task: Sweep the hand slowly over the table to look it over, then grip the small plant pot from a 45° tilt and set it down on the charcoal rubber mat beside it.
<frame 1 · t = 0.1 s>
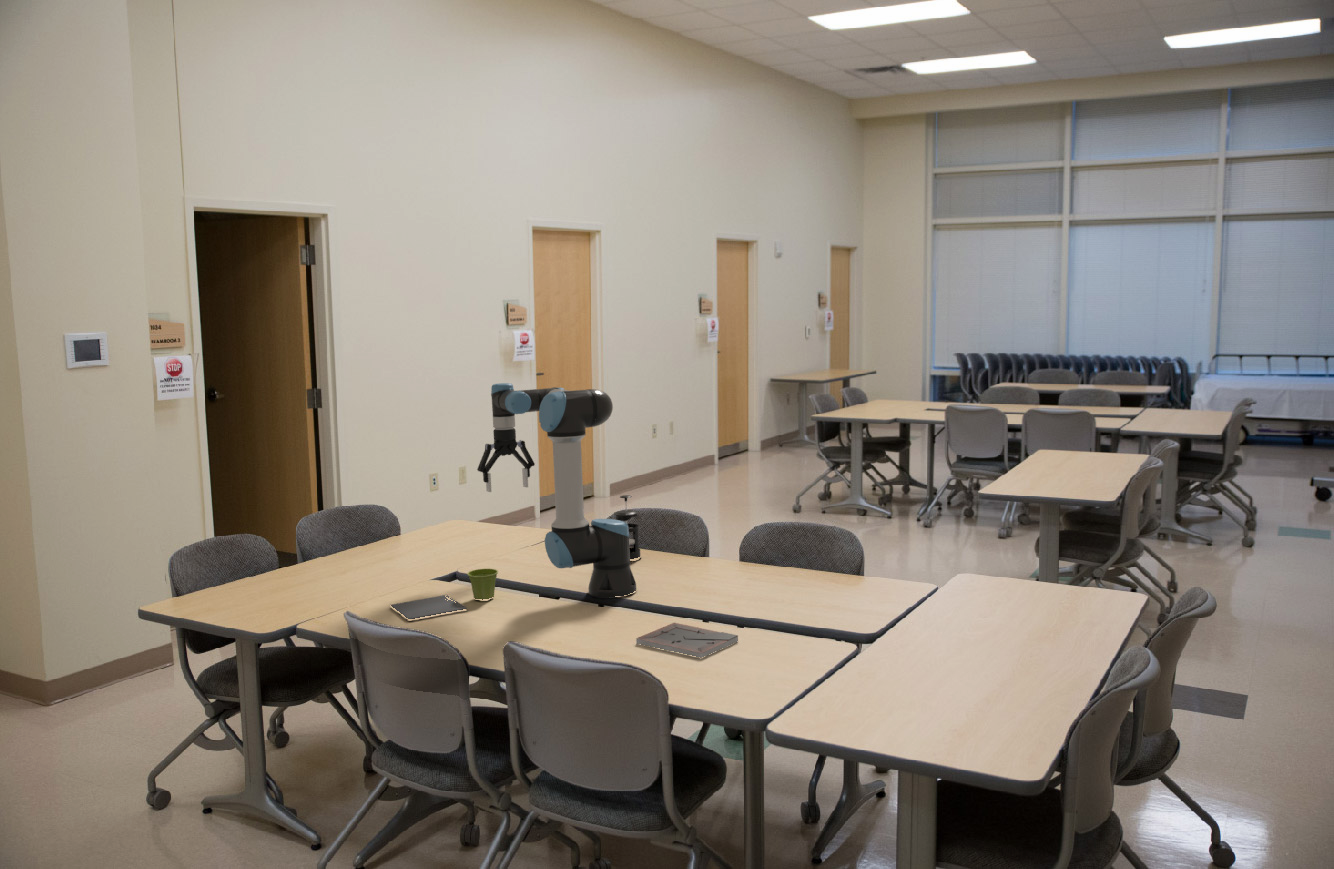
hand: (507, 489, 362), 28 cm above the table, tool pointing down, fingers open, 13 cm apart
plant pot: (484, 599, 328), on the table
french press: (627, 559, 374), on the table
picture frame: (687, 646, 280), on the table
charcoal mat: (428, 609, 318), on the table
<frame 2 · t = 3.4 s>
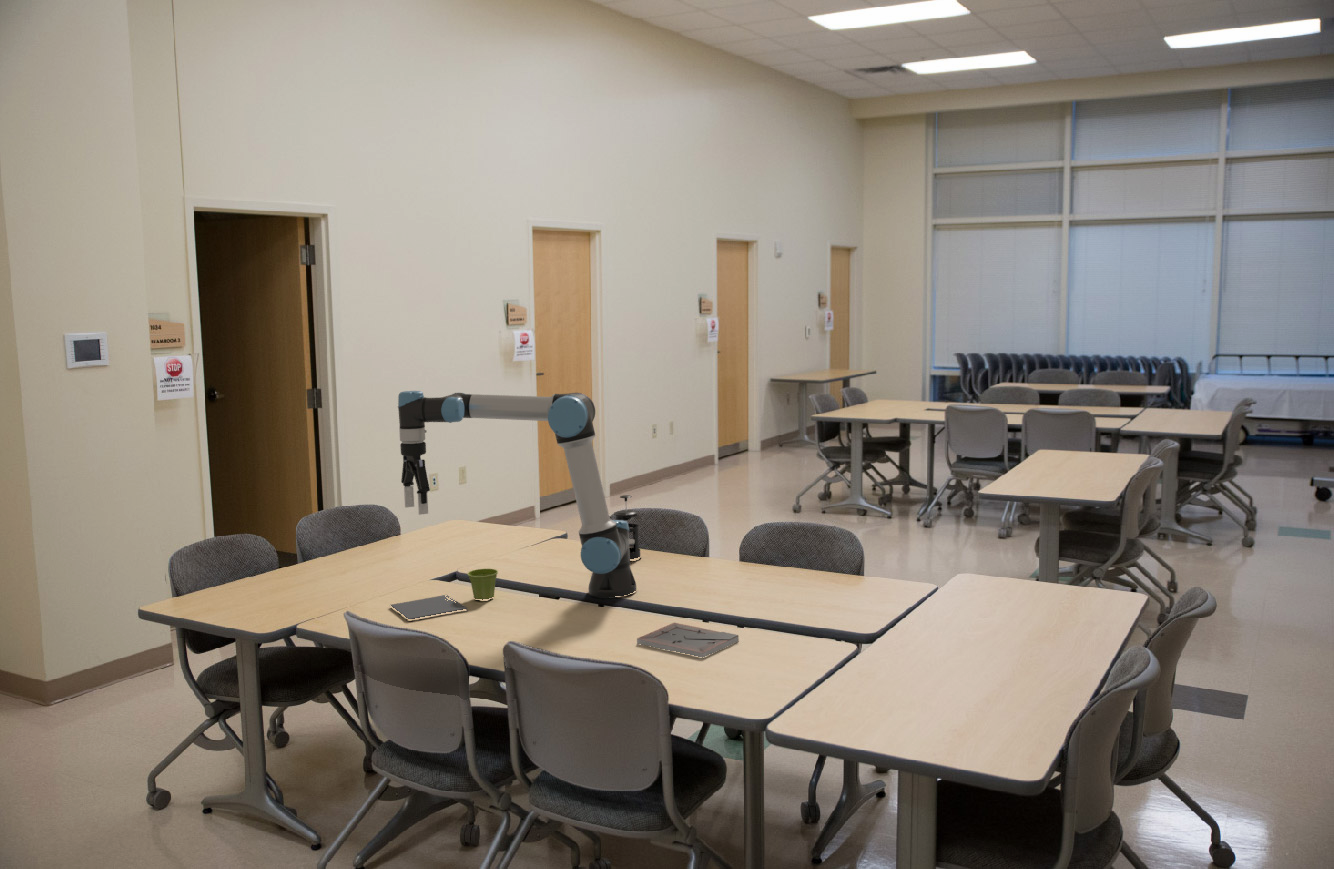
hand: (416, 510, 321), 29 cm above the table, tool pointing down, fingers open, 13 cm apart
nothing on the table moved.
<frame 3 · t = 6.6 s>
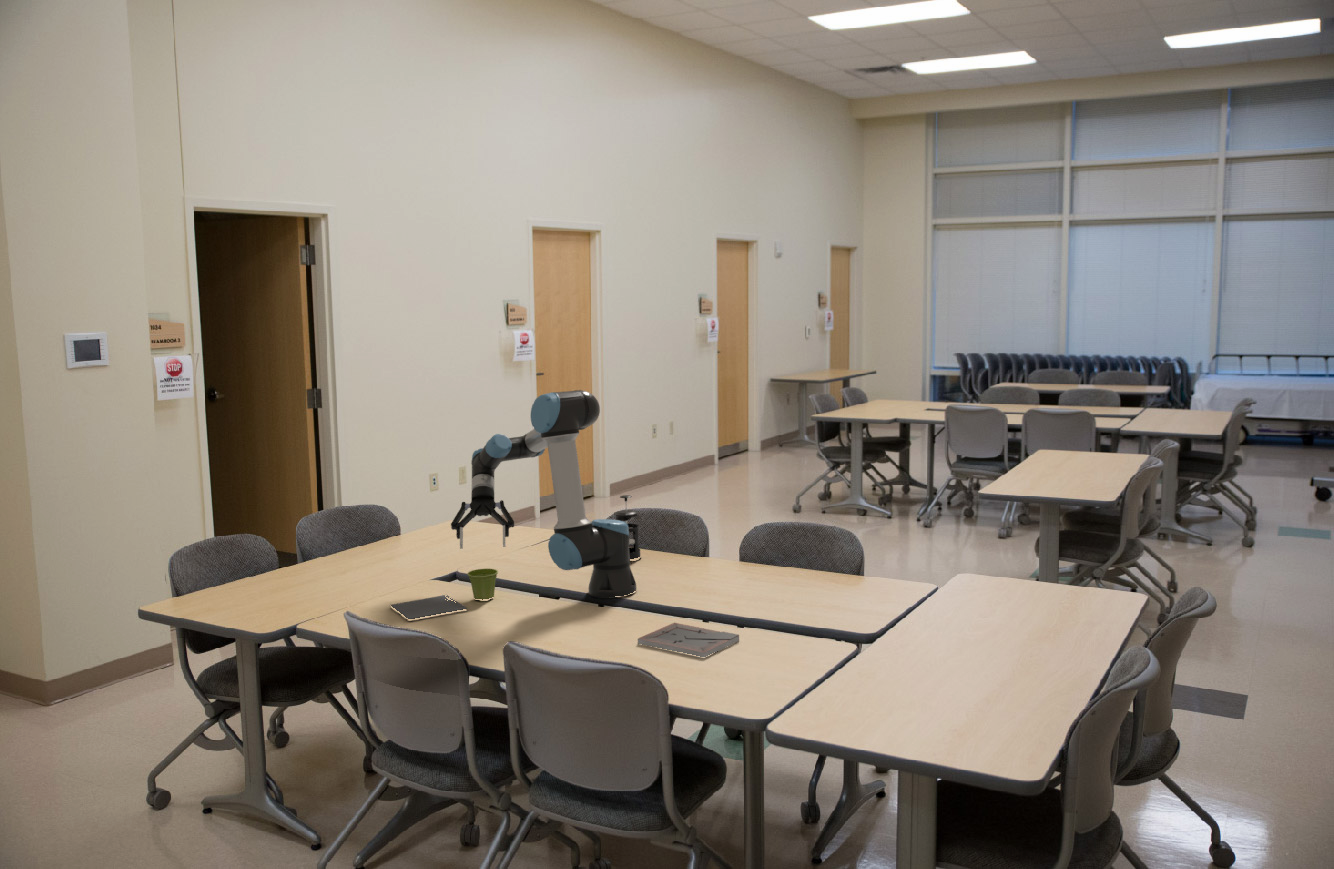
hand: (482, 545, 336), 15 cm above the table, tool tilted 45°, fingers open, 13 cm apart
nothing on the table moved.
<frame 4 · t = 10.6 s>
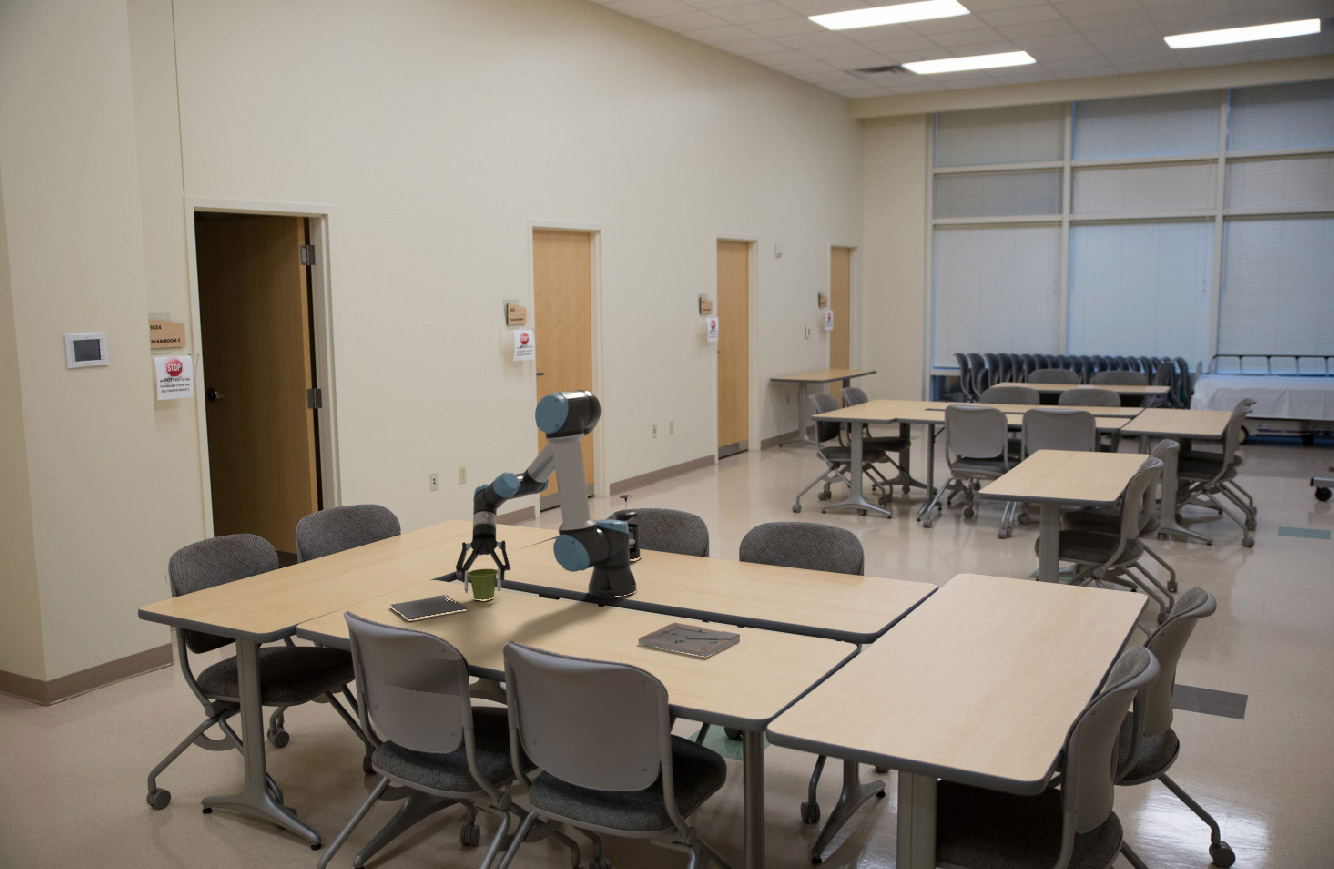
hand: (482, 589, 324), 4 cm above the table, tool tilted 45°, fingers closed on plant pot, 9 cm apart
plant pot: (484, 599, 328), on the table, touching gripper
everything else where it was.
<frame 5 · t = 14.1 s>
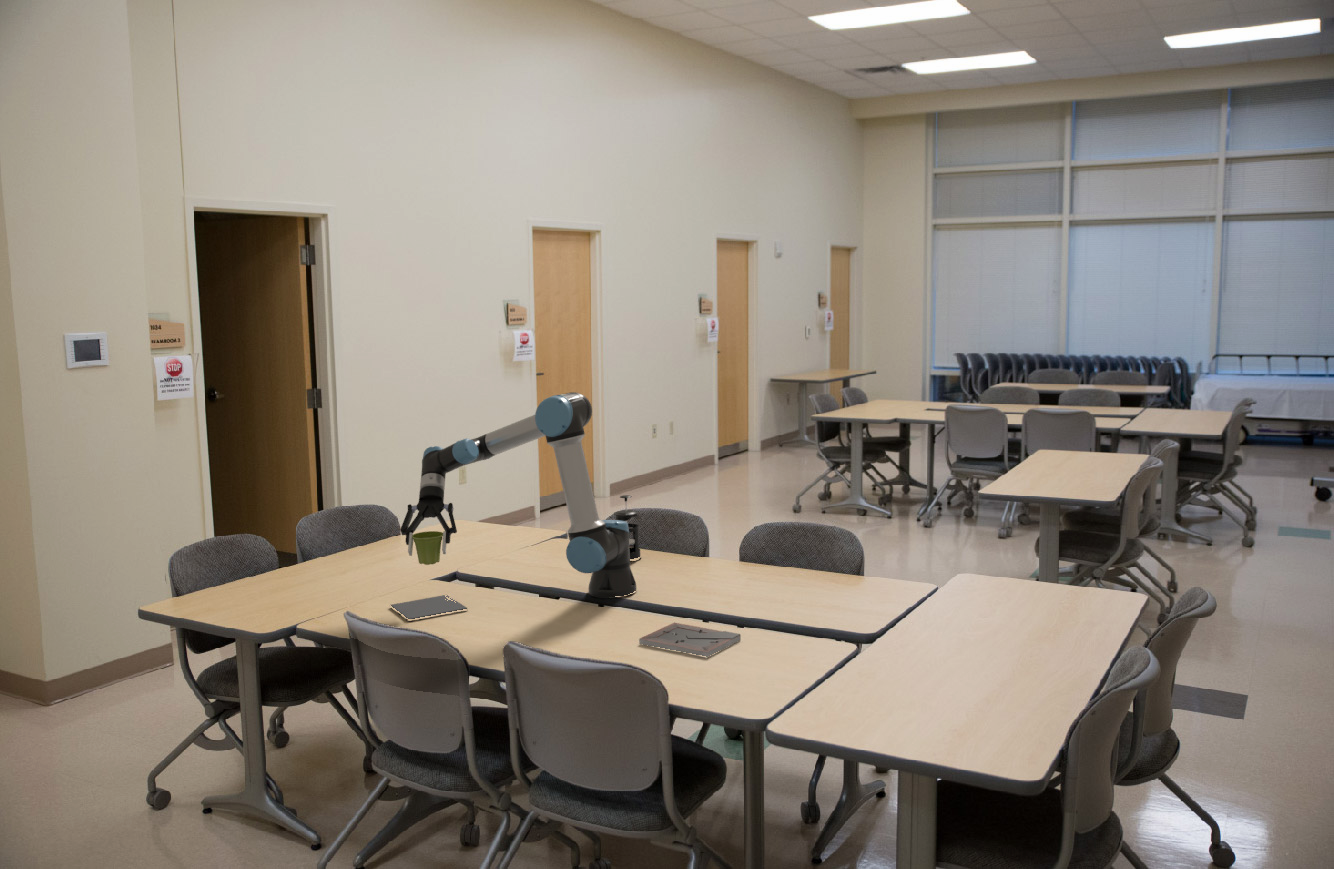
hand: (426, 552, 314), 18 cm above the table, tool tilted 45°, fingers closed on plant pot, 9 cm apart
plant pot: (429, 563, 318), point 14 cm above the table, touching gripper
everything else where it was.
when the fingers open (6 cm above the table, at t = 17.6 s): plant pot drops 1 cm, resting on charcoal mat.
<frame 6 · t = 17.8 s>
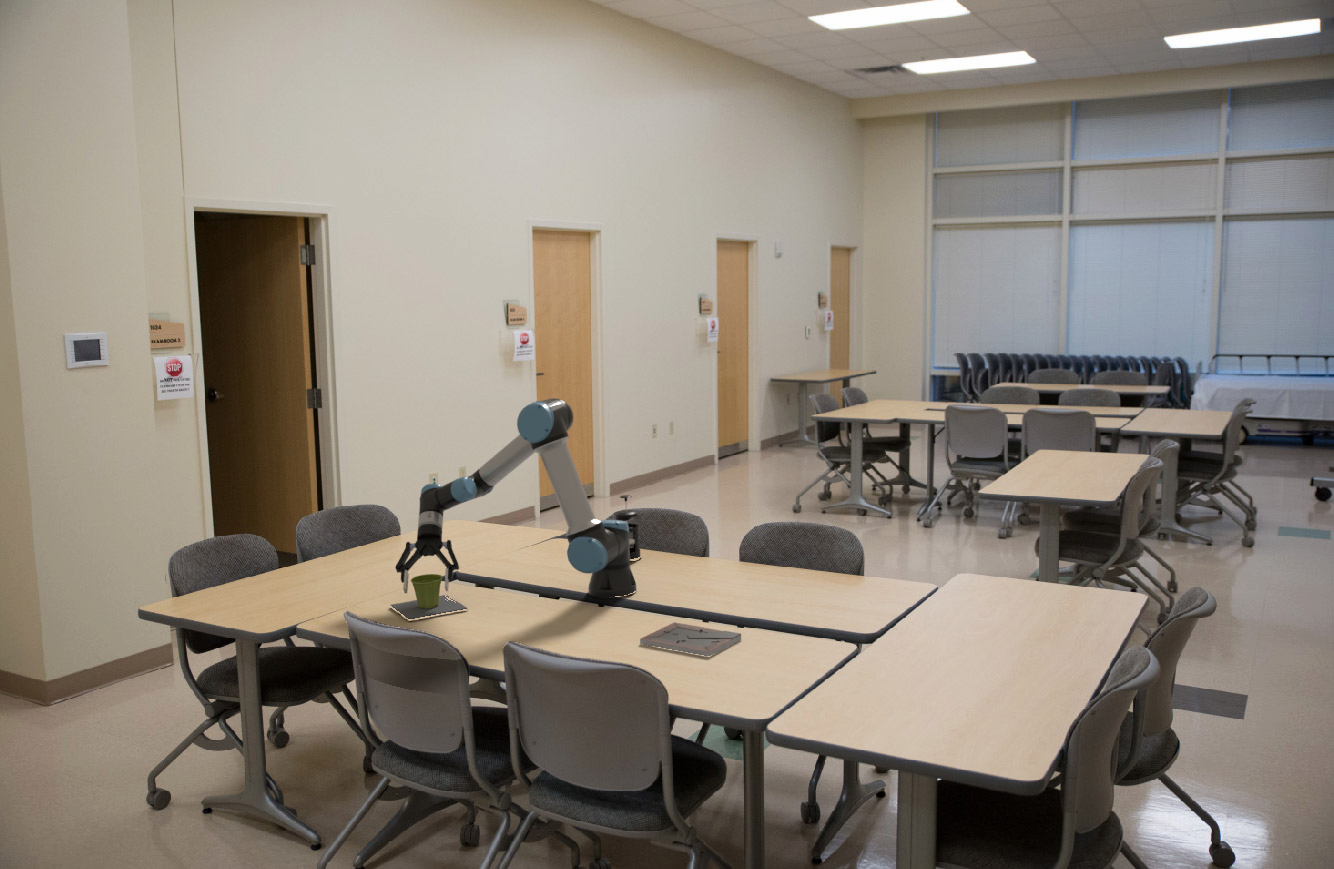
hand: (425, 590, 315), 7 cm above the table, tool tilted 45°, fingers open, 11 cm apart
plant pot: (428, 606, 318), point 1 cm above the table, touching charcoal mat
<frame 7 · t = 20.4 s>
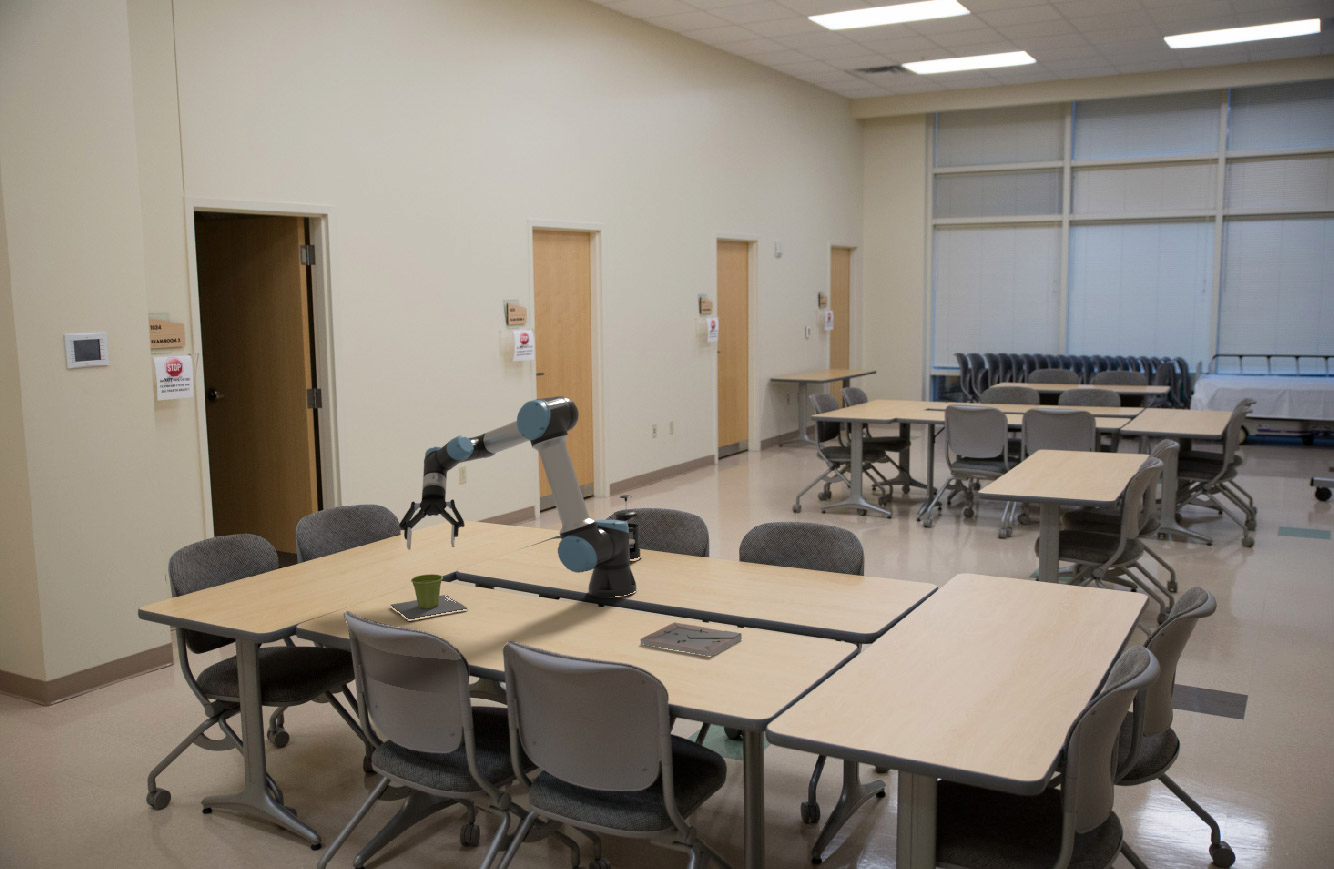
hand: (430, 546, 327), 17 cm above the table, tool tilted 45°, fingers open, 13 cm apart
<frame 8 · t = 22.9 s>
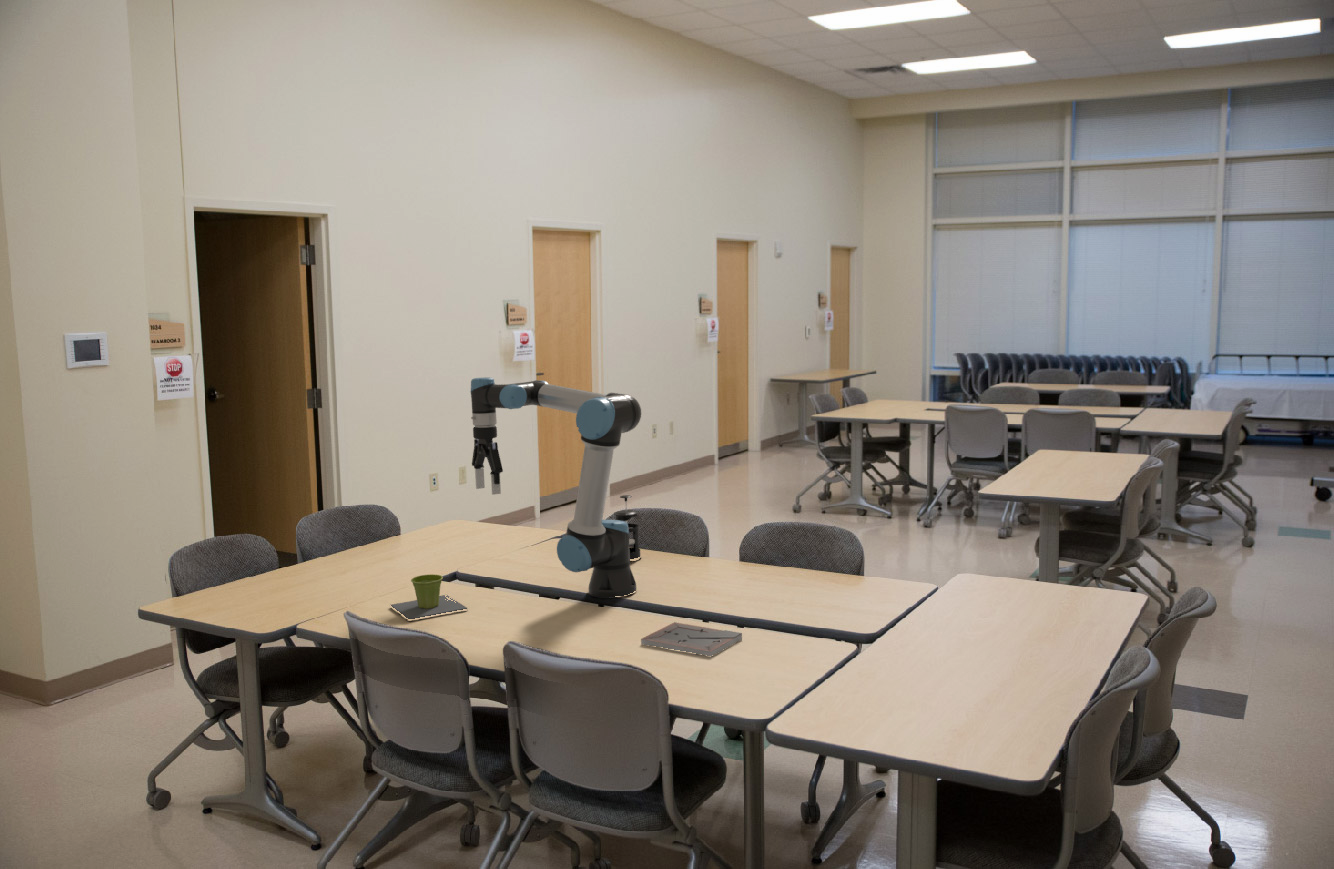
hand: (488, 491, 338), 32 cm above the table, tool pointing down, fingers open, 13 cm apart
at the end: plant pot inside the target area on the charcoal mat (0.1 cm from its centre), point 0.8 cm above the charcoal mat's base; plant pot tilted 0°; the gripper is holding nothing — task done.
